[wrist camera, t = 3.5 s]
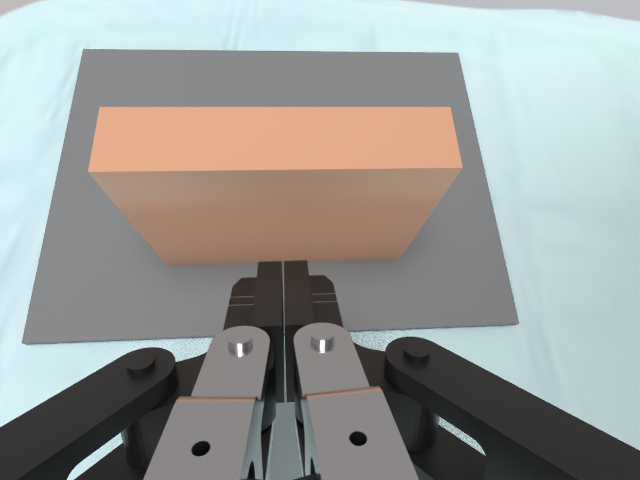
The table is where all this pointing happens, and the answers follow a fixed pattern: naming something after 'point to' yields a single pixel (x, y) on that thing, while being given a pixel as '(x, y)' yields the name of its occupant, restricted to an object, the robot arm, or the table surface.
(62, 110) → the table surface
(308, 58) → the mat
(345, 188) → the tile
